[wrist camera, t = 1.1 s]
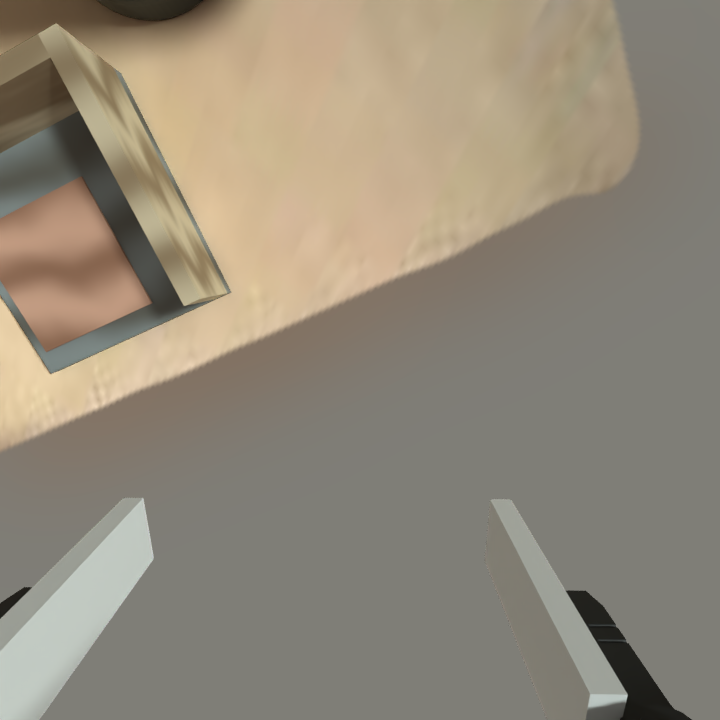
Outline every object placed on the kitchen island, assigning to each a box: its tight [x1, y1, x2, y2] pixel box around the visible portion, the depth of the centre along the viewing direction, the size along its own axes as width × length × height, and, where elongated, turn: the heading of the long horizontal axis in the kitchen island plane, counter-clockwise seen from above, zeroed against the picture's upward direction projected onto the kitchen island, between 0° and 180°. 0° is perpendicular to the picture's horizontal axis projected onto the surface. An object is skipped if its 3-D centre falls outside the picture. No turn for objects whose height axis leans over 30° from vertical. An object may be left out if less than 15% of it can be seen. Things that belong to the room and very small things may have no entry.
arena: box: [0, 23, 231, 373], centre depth 32 cm, size 20×20×7 cm
